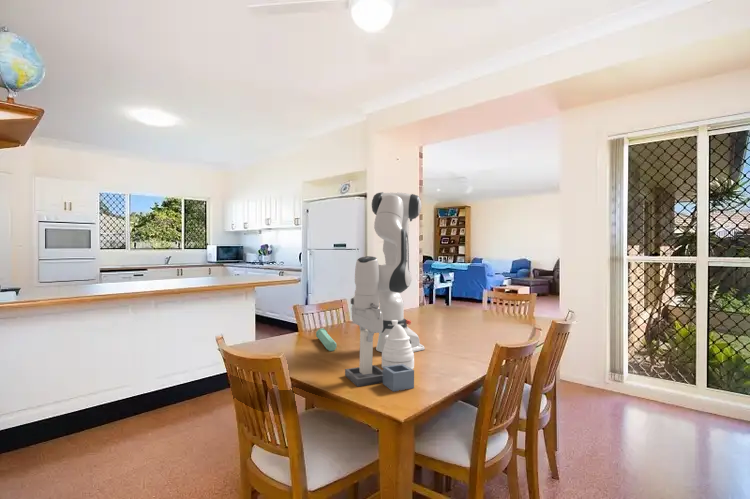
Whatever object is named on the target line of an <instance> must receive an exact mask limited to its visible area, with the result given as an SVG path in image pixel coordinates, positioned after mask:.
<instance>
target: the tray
mask: <svg viewBox="0 0 750 499" xmlns="http://www.w3.org/2000/svg"><path fill="white" fill-rule="evenodd" d="M344 376H345V377H346V378H347V379H348V380H349V381H350V382H352V383H353V384H354V385H355V386H356V387H358V388H359V387H364V386H365V387H366V386H369V385H370V386H371V385H378V384H383V369H381V368H380V367H378V366H377V365H376V364H372V374H364V375H363V374H362V373H360V372H359V366H358V367H352V368H345V369H344Z"/></svg>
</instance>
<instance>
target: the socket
mask: <svg viewBox="0 0 750 499" xmlns="http://www.w3.org/2000/svg"><path fill="white" fill-rule="evenodd" d="M382 370H383V383H382V385H384V386H385V387H386V388H387V389H389V390H390V391H392V392H399V390H400V391H405V389H406V390H409V389H410V390H411V389H414V388H415V370H414V368H413V369H411V368H409V367H407V366H406V365H404V364H398V365H391V366H384V367H383V368H382Z"/></svg>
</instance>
